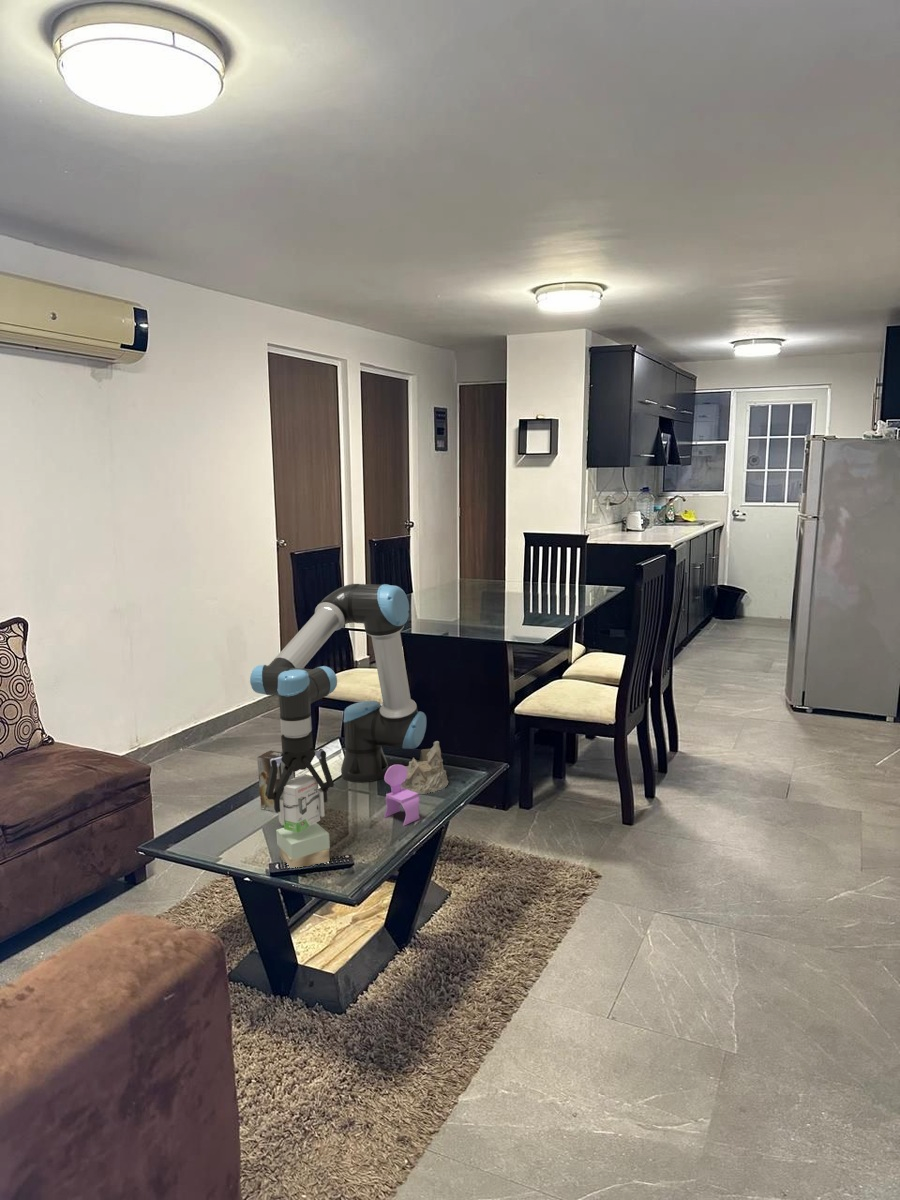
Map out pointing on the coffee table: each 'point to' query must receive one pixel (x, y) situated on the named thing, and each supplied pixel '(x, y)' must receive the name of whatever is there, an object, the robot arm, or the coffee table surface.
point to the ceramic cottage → (426, 772)
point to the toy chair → (400, 795)
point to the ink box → (301, 803)
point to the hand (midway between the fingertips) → (301, 818)
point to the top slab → (303, 841)
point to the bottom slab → (306, 859)
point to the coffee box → (264, 774)
